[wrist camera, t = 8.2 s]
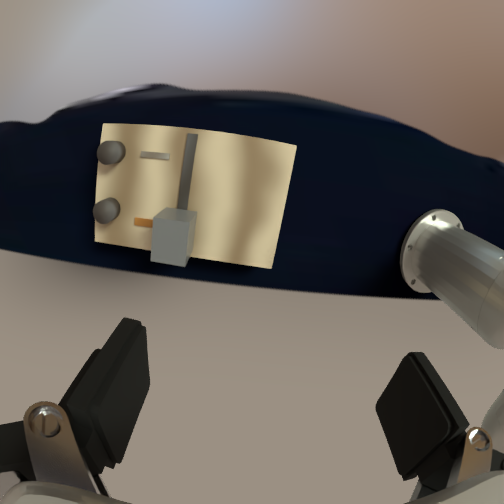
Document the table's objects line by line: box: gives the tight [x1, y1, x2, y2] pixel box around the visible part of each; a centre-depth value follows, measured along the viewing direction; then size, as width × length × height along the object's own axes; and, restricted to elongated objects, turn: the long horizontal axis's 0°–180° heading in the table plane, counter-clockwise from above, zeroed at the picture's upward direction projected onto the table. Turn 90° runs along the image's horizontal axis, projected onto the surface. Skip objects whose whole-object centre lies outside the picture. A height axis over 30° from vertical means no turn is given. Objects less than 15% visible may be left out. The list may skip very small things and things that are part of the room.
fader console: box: [93, 124, 297, 269], centre depth 28 cm, size 20×13×6 cm, turn 80°
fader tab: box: [151, 207, 197, 267], centre depth 25 cm, size 3×4×4 cm
